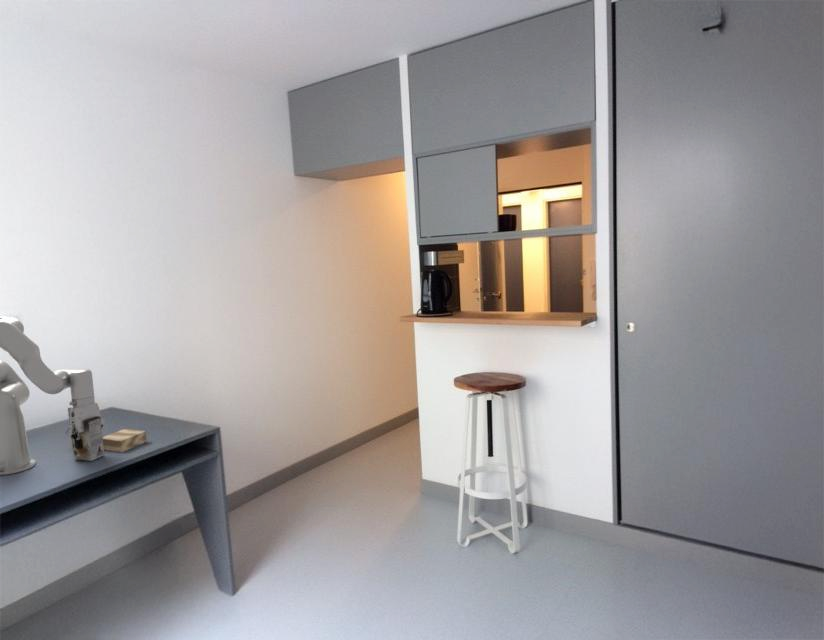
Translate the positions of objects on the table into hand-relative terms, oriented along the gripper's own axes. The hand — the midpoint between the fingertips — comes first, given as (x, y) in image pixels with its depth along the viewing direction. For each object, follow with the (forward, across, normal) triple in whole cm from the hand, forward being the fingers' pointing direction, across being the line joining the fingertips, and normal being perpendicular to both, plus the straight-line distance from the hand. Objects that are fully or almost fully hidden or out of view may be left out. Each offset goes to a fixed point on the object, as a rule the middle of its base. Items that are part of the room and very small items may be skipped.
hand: (88, 445), depth 208 cm
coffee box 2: (+5, 0, 0) cm, 5 cm away
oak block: (+5, +14, -2) cm, 16 cm away
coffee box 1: (+6, +14, +19) cm, 24 cm away
